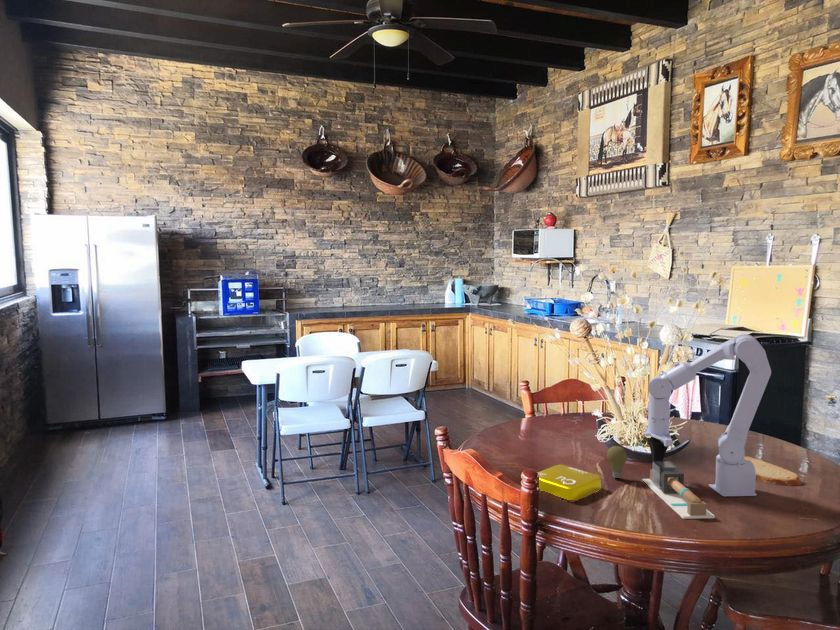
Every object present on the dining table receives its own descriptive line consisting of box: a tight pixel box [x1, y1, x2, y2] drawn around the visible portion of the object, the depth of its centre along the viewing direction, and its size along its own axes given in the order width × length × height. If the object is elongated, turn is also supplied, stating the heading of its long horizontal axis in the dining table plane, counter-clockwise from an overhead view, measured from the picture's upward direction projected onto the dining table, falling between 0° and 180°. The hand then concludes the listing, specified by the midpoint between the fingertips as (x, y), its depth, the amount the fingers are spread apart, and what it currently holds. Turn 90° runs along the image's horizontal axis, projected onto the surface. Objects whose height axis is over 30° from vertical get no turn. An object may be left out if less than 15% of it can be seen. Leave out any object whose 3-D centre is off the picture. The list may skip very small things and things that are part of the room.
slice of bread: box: [744, 455, 803, 487], centre depth 178 cm, size 18×18×4 cm
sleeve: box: [651, 460, 679, 488], centre depth 167 cm, size 5×5×6 cm
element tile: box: [537, 463, 602, 500], centre depth 168 cm, size 15×15×5 cm
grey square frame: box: [662, 471, 685, 493], centre depth 162 cm, size 1×5×5 cm, turn 91°
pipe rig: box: [642, 468, 716, 520], centre depth 160 cm, size 26×8×5 cm, turn 1°
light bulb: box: [606, 445, 628, 479], centre depth 175 cm, size 6×6×10 cm
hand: (657, 463), depth 172 cm, fingers closed
